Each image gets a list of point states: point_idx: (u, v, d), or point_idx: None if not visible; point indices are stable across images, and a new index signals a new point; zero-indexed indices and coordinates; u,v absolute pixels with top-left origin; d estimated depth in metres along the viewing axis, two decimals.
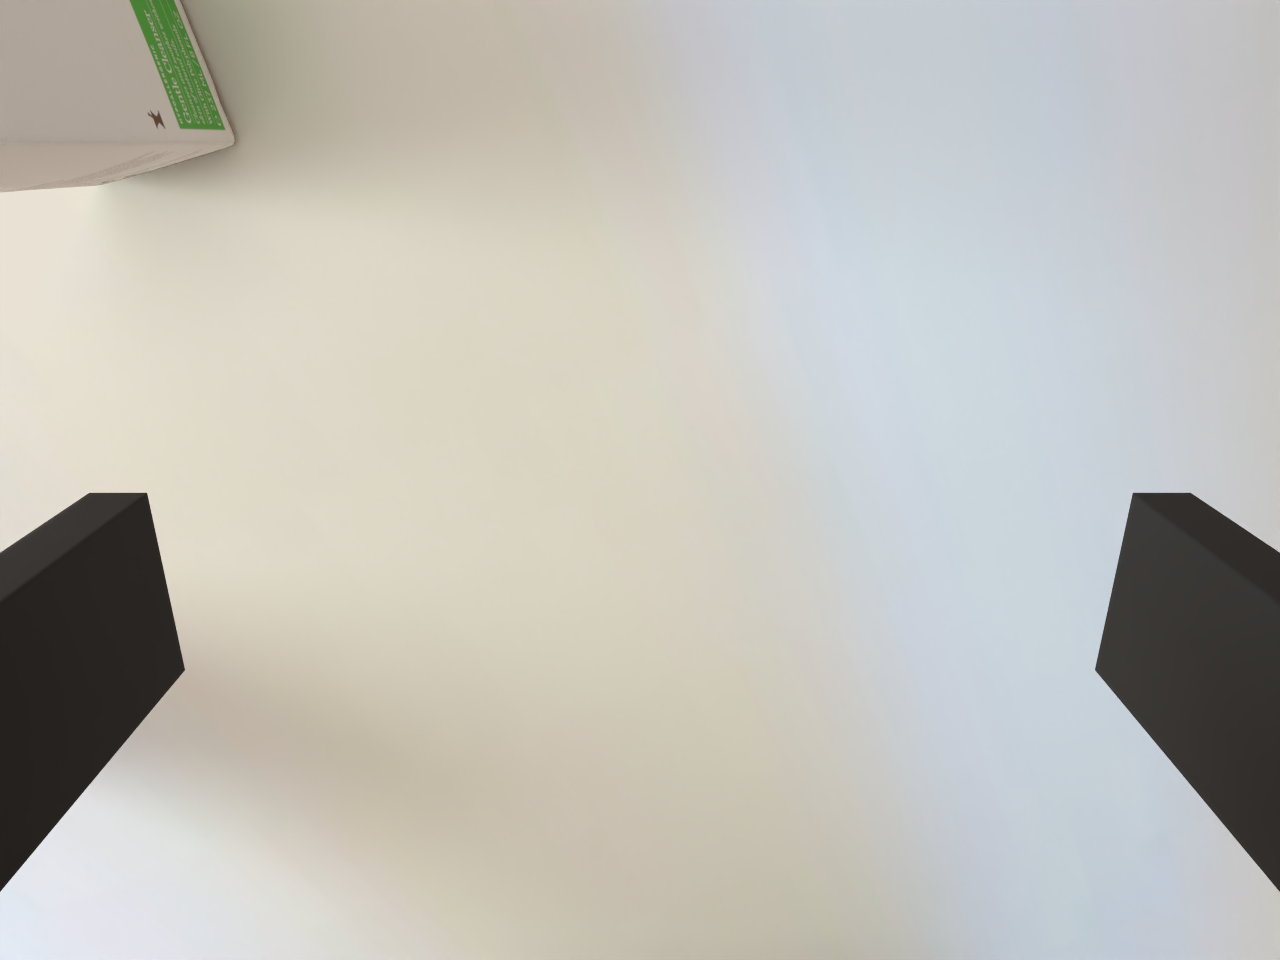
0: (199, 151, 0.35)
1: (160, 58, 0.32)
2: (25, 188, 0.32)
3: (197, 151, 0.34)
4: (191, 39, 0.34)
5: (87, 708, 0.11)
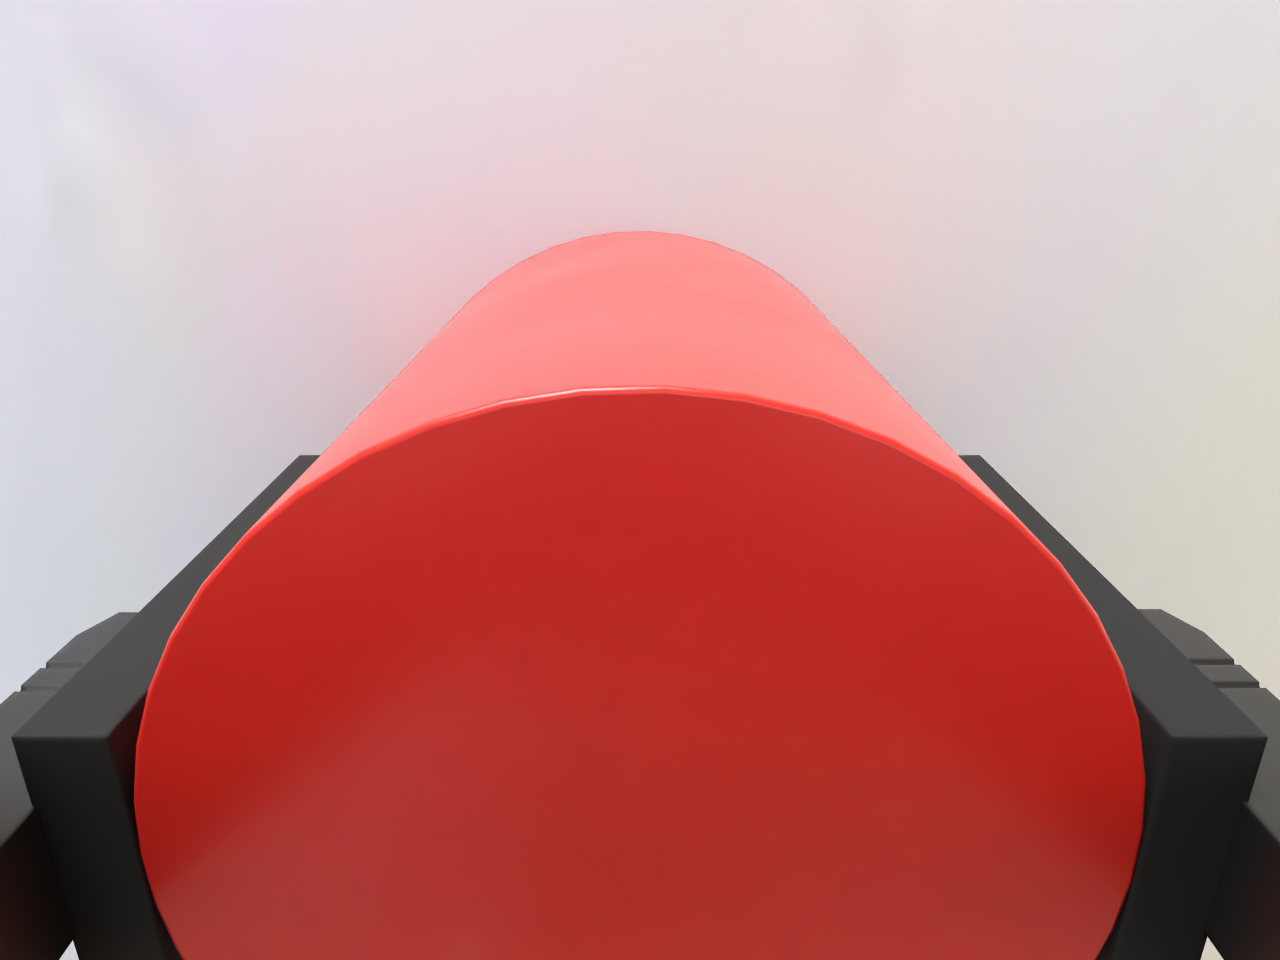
0: None
1: None
2: None
3: None
4: None
5: None
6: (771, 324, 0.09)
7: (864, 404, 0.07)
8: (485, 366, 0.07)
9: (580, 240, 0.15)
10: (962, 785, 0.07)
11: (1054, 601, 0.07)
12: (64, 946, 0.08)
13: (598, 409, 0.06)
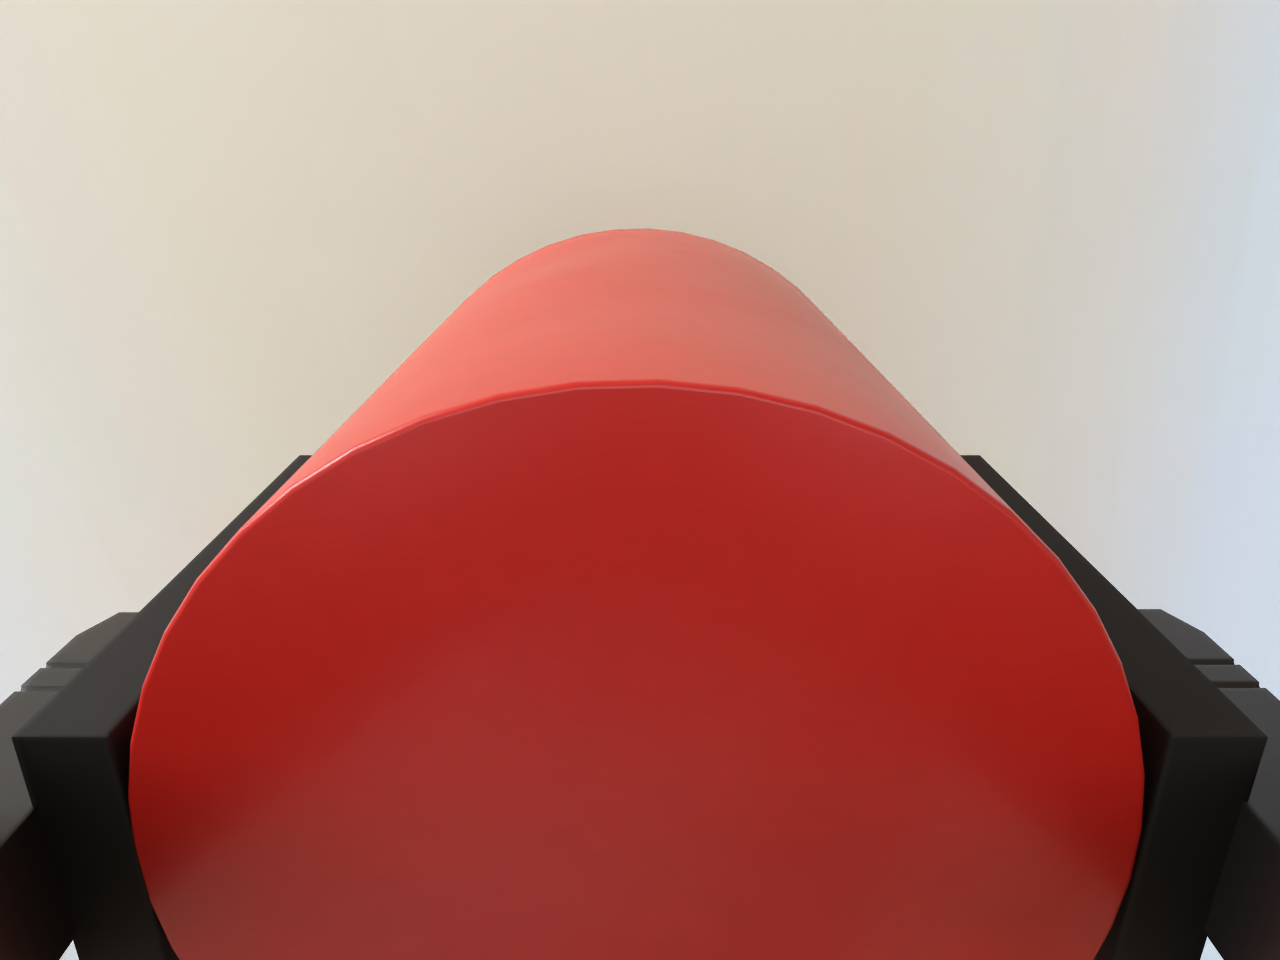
0: None
1: None
2: None
3: None
4: None
5: None
6: (768, 320, 0.09)
7: (861, 399, 0.07)
8: (480, 361, 0.07)
9: (578, 237, 0.15)
10: (960, 783, 0.07)
11: (1052, 597, 0.07)
12: (64, 946, 0.08)
13: (592, 402, 0.06)
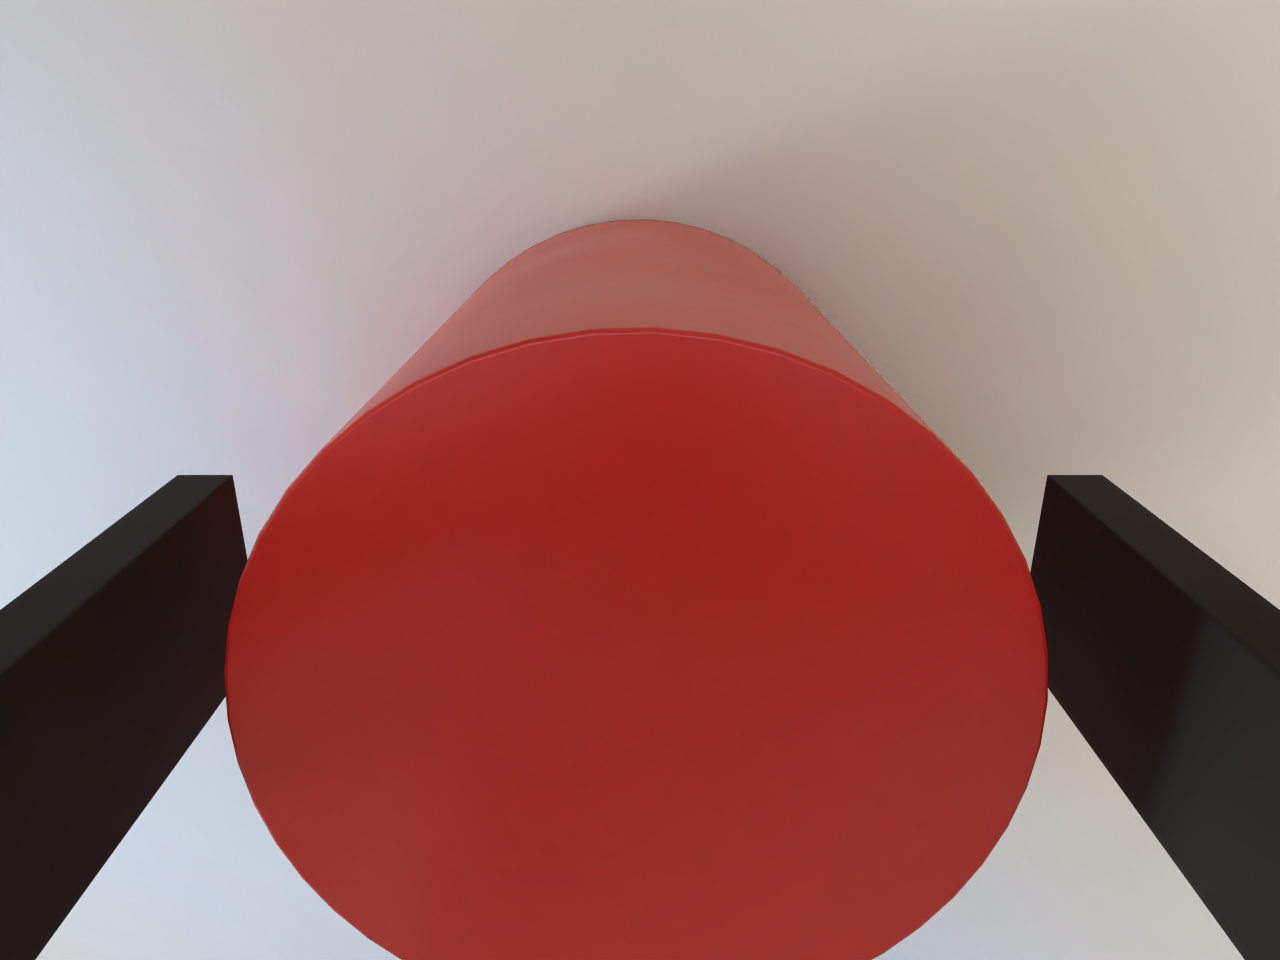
0: None
1: None
2: None
3: None
4: None
5: (185, 677, 0.11)
6: (748, 291, 0.11)
7: (817, 348, 0.09)
8: (510, 320, 0.09)
9: (585, 227, 0.16)
10: (899, 660, 0.09)
11: (967, 504, 0.08)
12: None
13: (602, 345, 0.08)
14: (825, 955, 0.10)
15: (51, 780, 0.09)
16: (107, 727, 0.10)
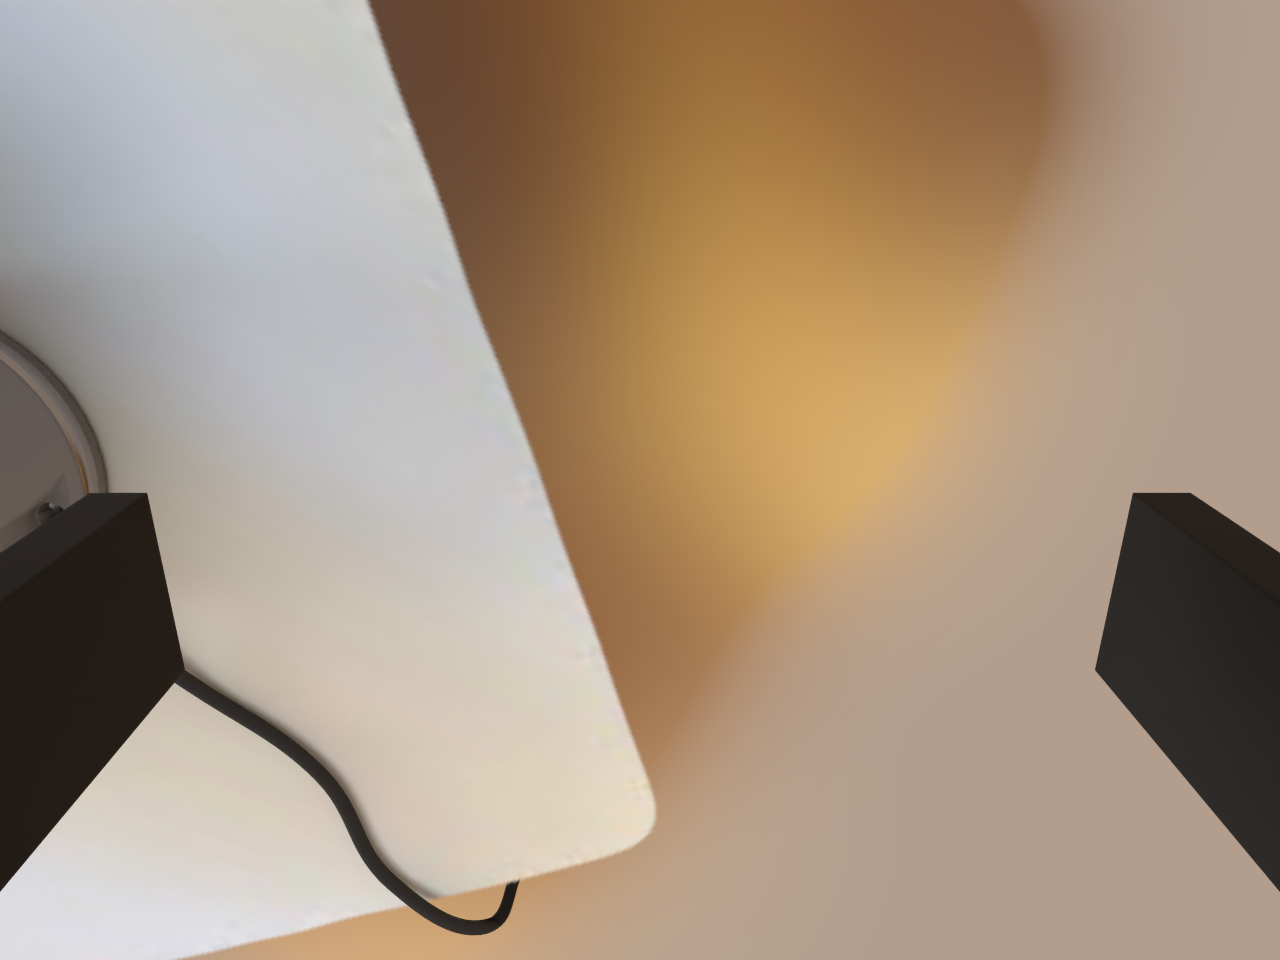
0: None
1: None
2: None
3: None
4: None
5: (87, 708, 0.11)
6: None
7: None
8: None
9: None
10: None
11: None
12: None
13: None
14: None
15: None
16: None
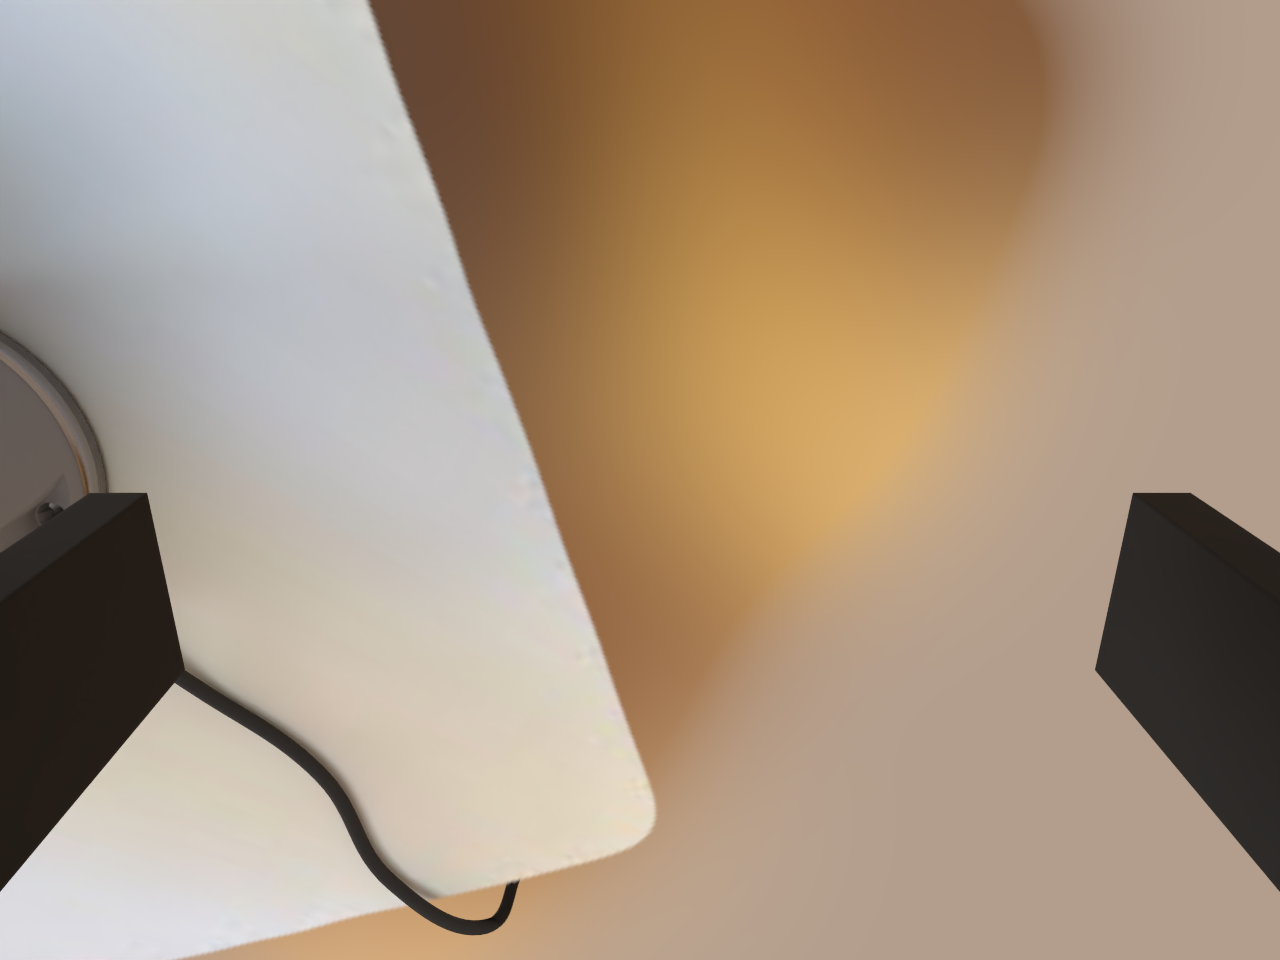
0: None
1: None
2: None
3: None
4: None
5: (87, 708, 0.11)
6: None
7: None
8: None
9: None
10: None
11: None
12: None
13: None
14: None
15: None
16: None
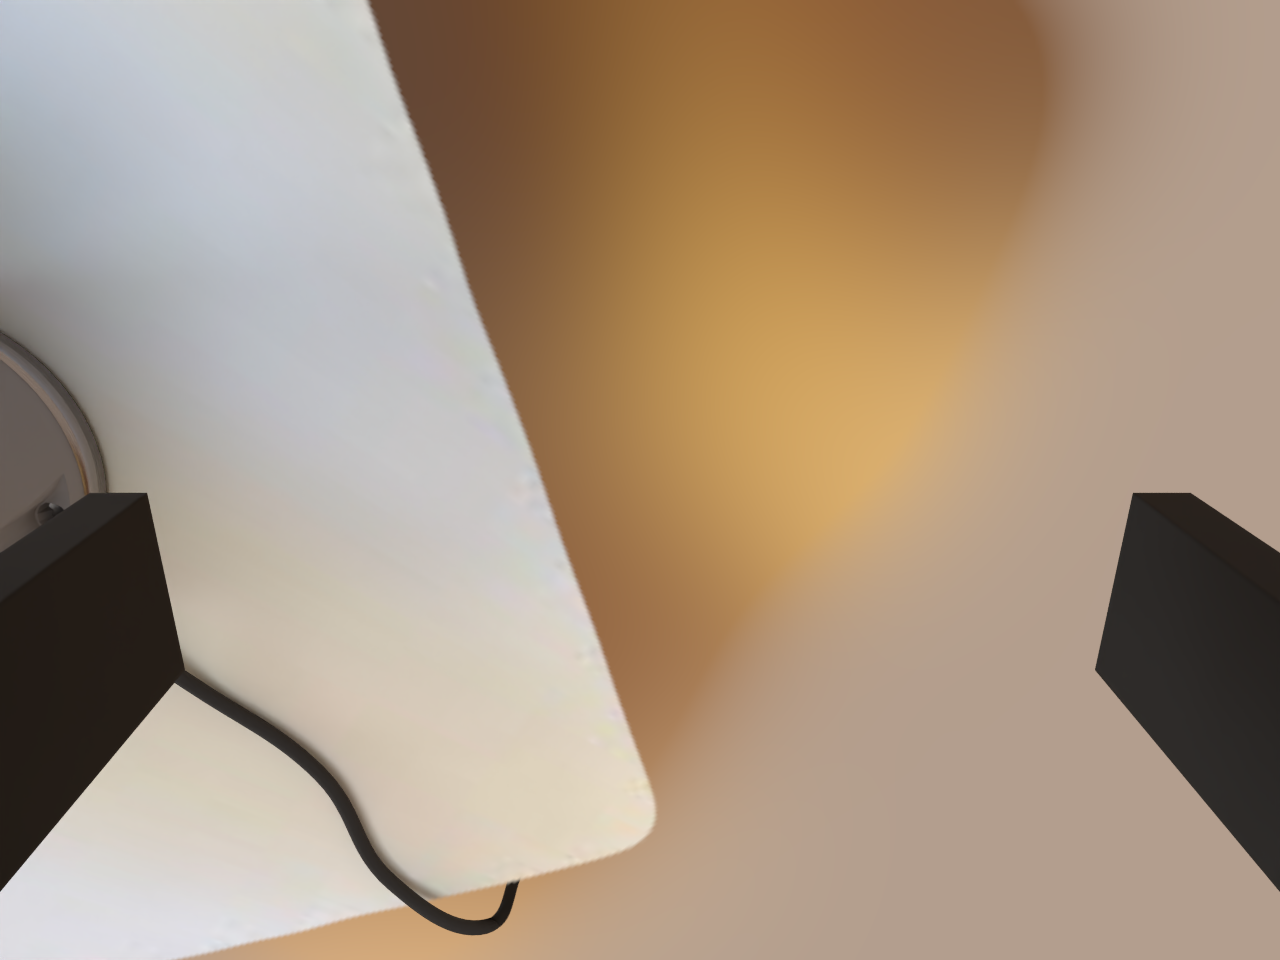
0: None
1: None
2: None
3: None
4: None
5: (87, 708, 0.11)
6: None
7: None
8: None
9: None
10: None
11: None
12: None
13: None
14: None
15: None
16: None
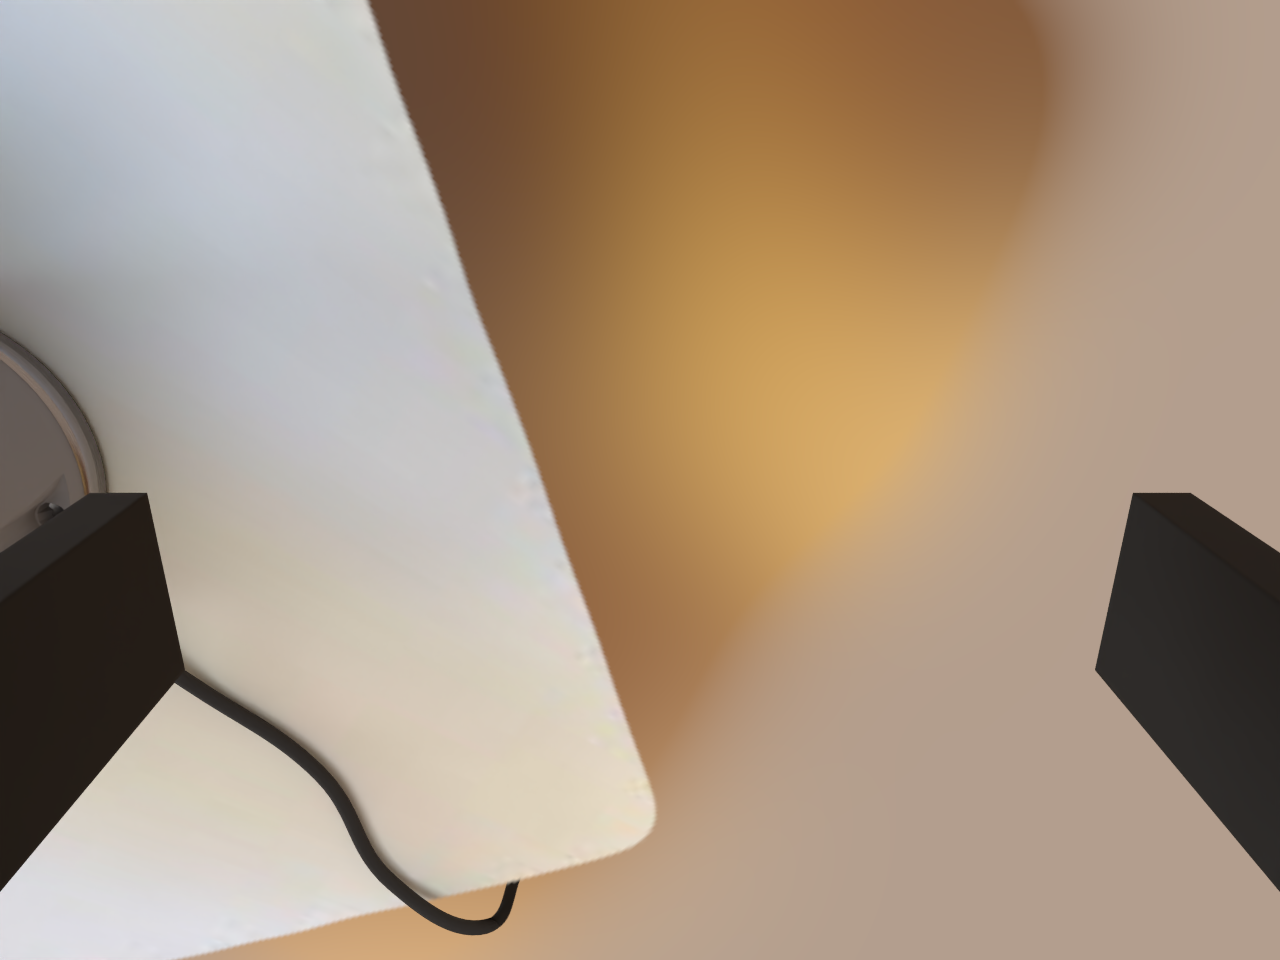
0: None
1: None
2: None
3: None
4: None
5: (87, 708, 0.11)
6: None
7: None
8: None
9: None
10: None
11: None
12: None
13: None
14: None
15: None
16: None
